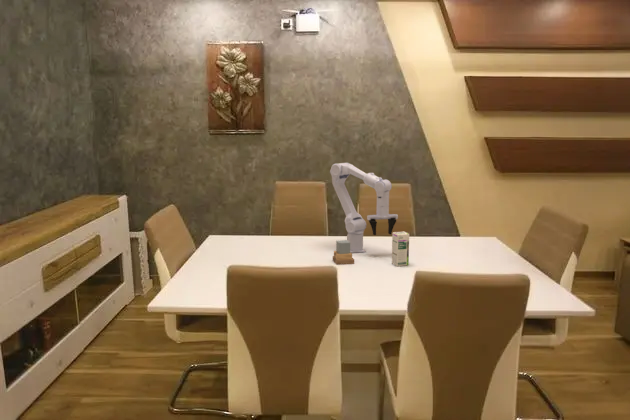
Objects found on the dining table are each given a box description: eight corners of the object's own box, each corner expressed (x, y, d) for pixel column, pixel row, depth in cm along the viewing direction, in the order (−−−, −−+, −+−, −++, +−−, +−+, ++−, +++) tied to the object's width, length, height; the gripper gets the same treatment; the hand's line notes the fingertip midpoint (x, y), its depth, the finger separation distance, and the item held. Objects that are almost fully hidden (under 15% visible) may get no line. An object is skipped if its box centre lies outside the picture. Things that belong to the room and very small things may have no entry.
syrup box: (396, 266, 239) (397, 234, 236) (391, 263, 244) (392, 231, 242) (408, 265, 240) (409, 233, 238) (403, 262, 246) (404, 230, 243)
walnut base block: (332, 261, 249) (332, 256, 248) (349, 260, 250) (349, 255, 250) (336, 265, 241) (337, 260, 240) (354, 265, 242) (354, 259, 242)
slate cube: (336, 251, 246) (336, 240, 245) (346, 250, 248) (346, 240, 247) (339, 254, 242) (339, 243, 241) (350, 253, 243) (350, 242, 242)
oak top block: (333, 256, 248) (333, 250, 248) (348, 255, 249) (348, 250, 249) (336, 260, 241) (336, 254, 241) (352, 259, 242) (352, 253, 242)
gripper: (370, 207, 247) (370, 236, 249) (400, 206, 250) (399, 235, 253) (365, 205, 254) (365, 233, 256) (394, 204, 257) (394, 232, 259)
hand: (382, 234), depth 255 cm, fingers open, 7 cm apart
